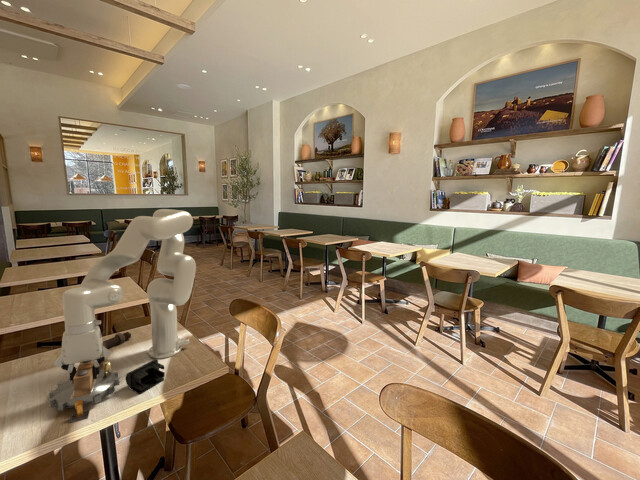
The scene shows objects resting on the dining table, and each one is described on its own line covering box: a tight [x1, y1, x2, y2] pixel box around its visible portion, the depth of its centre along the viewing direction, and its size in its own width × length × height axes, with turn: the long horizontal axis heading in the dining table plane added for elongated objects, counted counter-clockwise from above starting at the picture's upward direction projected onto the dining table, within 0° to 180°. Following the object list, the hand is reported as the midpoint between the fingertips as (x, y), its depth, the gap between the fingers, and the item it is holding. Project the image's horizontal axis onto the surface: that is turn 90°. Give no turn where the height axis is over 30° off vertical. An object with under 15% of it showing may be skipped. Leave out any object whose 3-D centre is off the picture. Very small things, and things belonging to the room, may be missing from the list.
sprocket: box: [48, 360, 121, 411], centre depth 97 cm, size 18×18×6 cm
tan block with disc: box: [73, 360, 95, 397], centre depth 97 cm, size 4×12×7 cm, turn 29°
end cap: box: [125, 358, 165, 395], centre depth 104 cm, size 10×7×7 cm
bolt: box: [102, 331, 132, 349], centre depth 127 cm, size 6×5×15 cm
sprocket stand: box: [70, 402, 90, 423], centre depth 93 cm, size 6×16×4 cm, turn 30°
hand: (85, 378), depth 97 cm, fingers open, 4 cm apart
